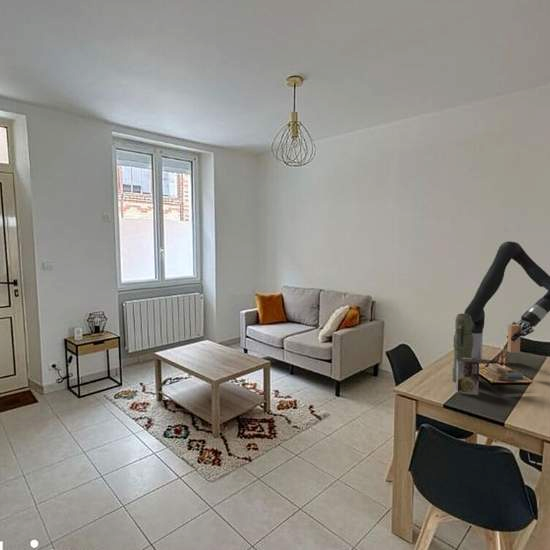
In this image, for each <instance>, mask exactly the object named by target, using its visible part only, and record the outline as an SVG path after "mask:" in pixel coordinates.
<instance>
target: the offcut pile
mask: <svg viewBox="0 0 550 550" xmlns="http://www.w3.org/2000/svg"><path fill="white" fill-rule="evenodd" d="M505 370H506V368H505V367H504V366H503V365H501V364H499V363H497V362H496V363H492V362H491V363H488V367H487V370H486V371H487V372H486V373H487V374H488V375H490V376H492V377H493V378H492V377H491V378H492V379H494V378H495V379H497V380H508V376H509V372H508V371H505ZM488 375H487V376H488ZM490 376H489V377H490ZM495 379H494V380H495ZM497 380H496V381H497Z"/></svg>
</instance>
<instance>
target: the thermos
mask: <svg viewBox="0 0 550 550" xmlns="http://www.w3.org/2000/svg"><path fill="white" fill-rule="evenodd" d="M455 317H456V318H455V322H454V323H455V324H454V325H455V327H454V329H455V332H454V335H453V349H454V351H453V352H454V355H453V357H454V359H453V367H452V381H453V382H454V383H456V357H466V358H471V357H472V349H473V337H472V318H471V316H470V315H469V314H464V313H458V314H457V315H456V316H455Z"/></svg>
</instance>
